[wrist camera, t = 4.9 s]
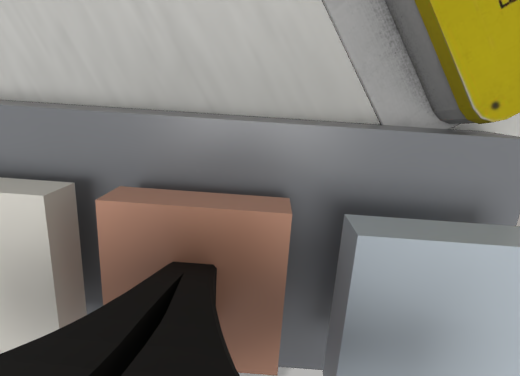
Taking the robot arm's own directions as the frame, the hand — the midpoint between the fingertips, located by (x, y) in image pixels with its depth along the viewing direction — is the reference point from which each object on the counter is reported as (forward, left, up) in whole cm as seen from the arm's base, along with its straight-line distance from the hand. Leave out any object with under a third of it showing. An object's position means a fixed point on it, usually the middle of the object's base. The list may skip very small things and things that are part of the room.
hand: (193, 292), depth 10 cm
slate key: (0, -7, -3) cm, 8 cm away
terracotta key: (0, 0, -4) cm, 4 cm away
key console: (0, 0, -6) cm, 6 cm away
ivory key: (0, +7, -4) cm, 8 cm away
